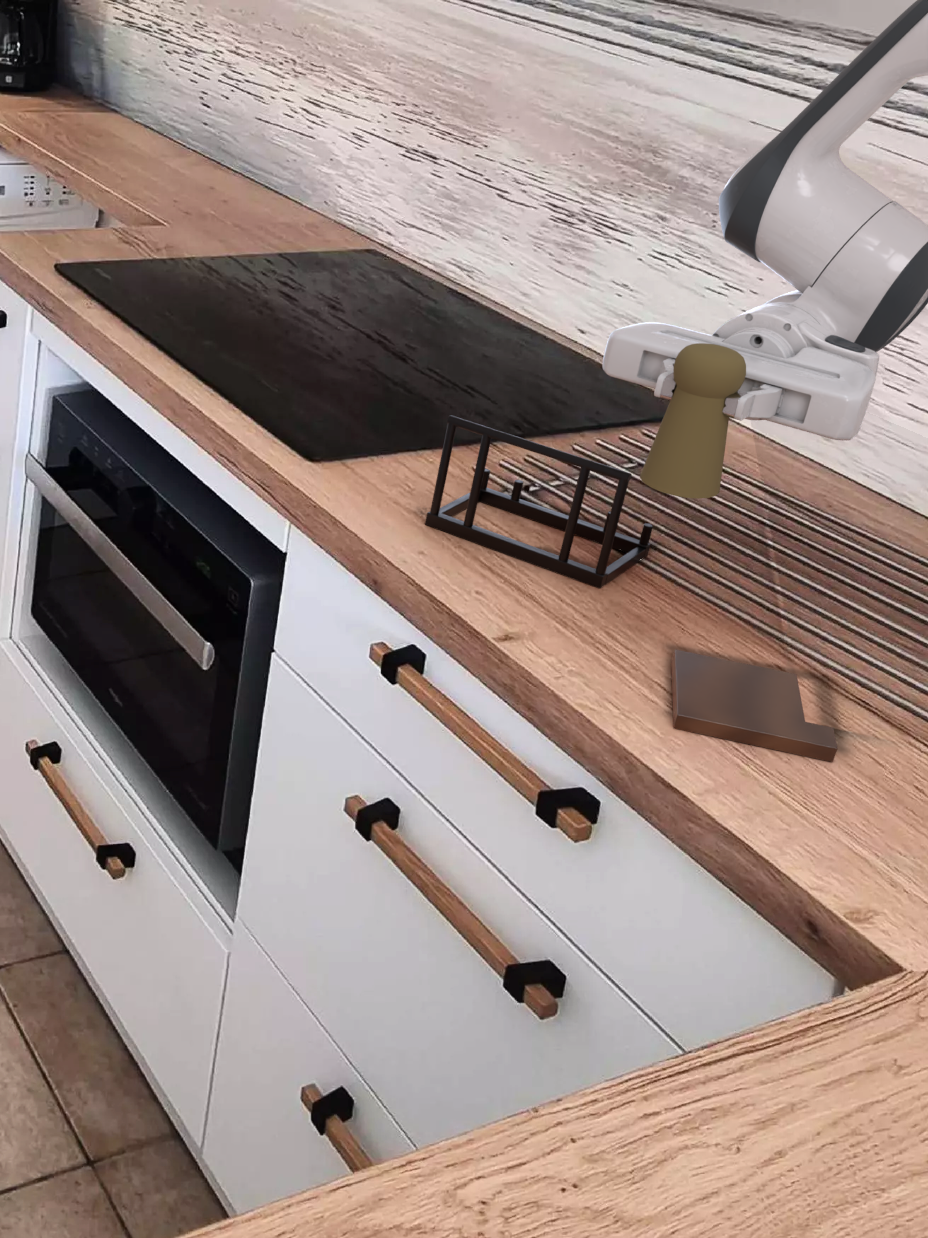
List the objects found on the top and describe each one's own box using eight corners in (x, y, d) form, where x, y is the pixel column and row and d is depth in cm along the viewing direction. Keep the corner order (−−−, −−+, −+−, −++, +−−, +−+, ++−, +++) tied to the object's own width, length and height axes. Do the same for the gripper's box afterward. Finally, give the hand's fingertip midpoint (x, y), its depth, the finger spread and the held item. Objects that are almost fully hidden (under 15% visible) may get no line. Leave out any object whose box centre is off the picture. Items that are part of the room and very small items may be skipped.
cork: (734, 499, 128) (772, 362, 123) (661, 498, 127) (697, 359, 122) (696, 469, 134) (732, 336, 128) (626, 468, 133) (659, 334, 127)
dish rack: (477, 496, 158) (499, 392, 153) (647, 556, 149) (677, 447, 144) (424, 524, 151) (446, 416, 146) (600, 589, 141) (629, 475, 137)
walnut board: (818, 692, 128) (823, 679, 127) (833, 762, 119) (837, 748, 118) (670, 662, 130) (674, 648, 130) (673, 728, 121) (677, 714, 120)
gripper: (650, 295, 140) (580, 324, 131) (901, 358, 129) (845, 395, 120) (633, 367, 143) (563, 400, 134) (877, 434, 132) (820, 476, 122)
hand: (698, 398), depth 126 cm, fingers closed on cork, 4 cm apart
